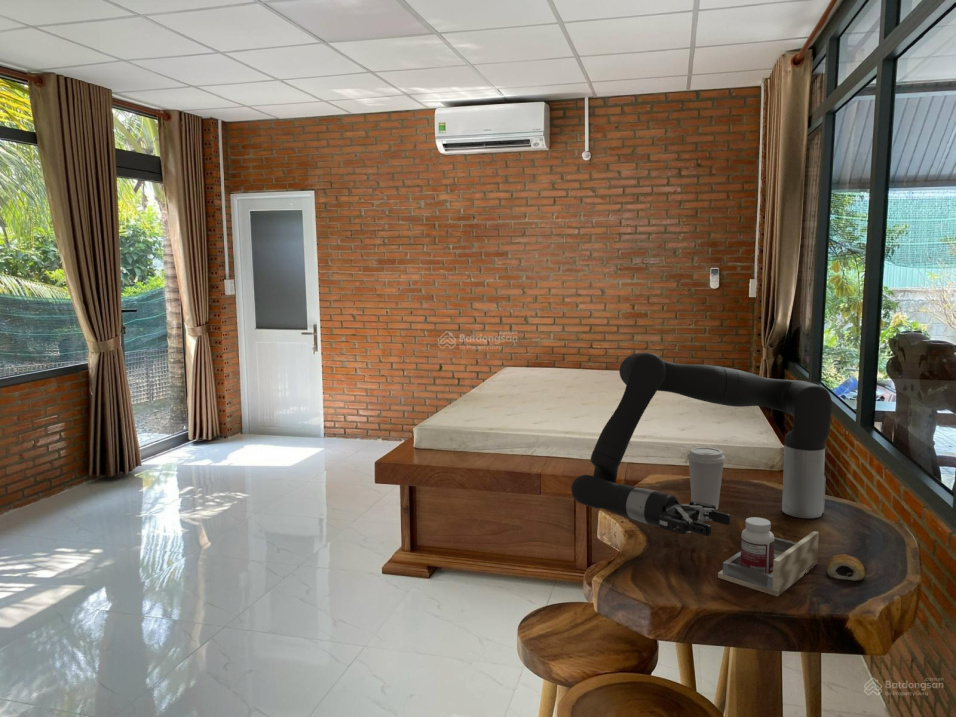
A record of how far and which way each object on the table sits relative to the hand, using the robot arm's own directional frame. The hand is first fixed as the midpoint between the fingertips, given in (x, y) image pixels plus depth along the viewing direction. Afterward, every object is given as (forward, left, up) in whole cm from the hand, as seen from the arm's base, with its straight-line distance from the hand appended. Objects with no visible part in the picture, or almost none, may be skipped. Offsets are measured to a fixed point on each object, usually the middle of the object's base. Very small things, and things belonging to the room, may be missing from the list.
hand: (720, 525), depth 146 cm
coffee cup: (-26, -28, -9) cm, 39 cm away
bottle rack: (-7, +7, -9) cm, 13 cm away
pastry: (-19, +15, -10) cm, 26 cm away
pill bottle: (-2, +8, -8) cm, 11 cm away
